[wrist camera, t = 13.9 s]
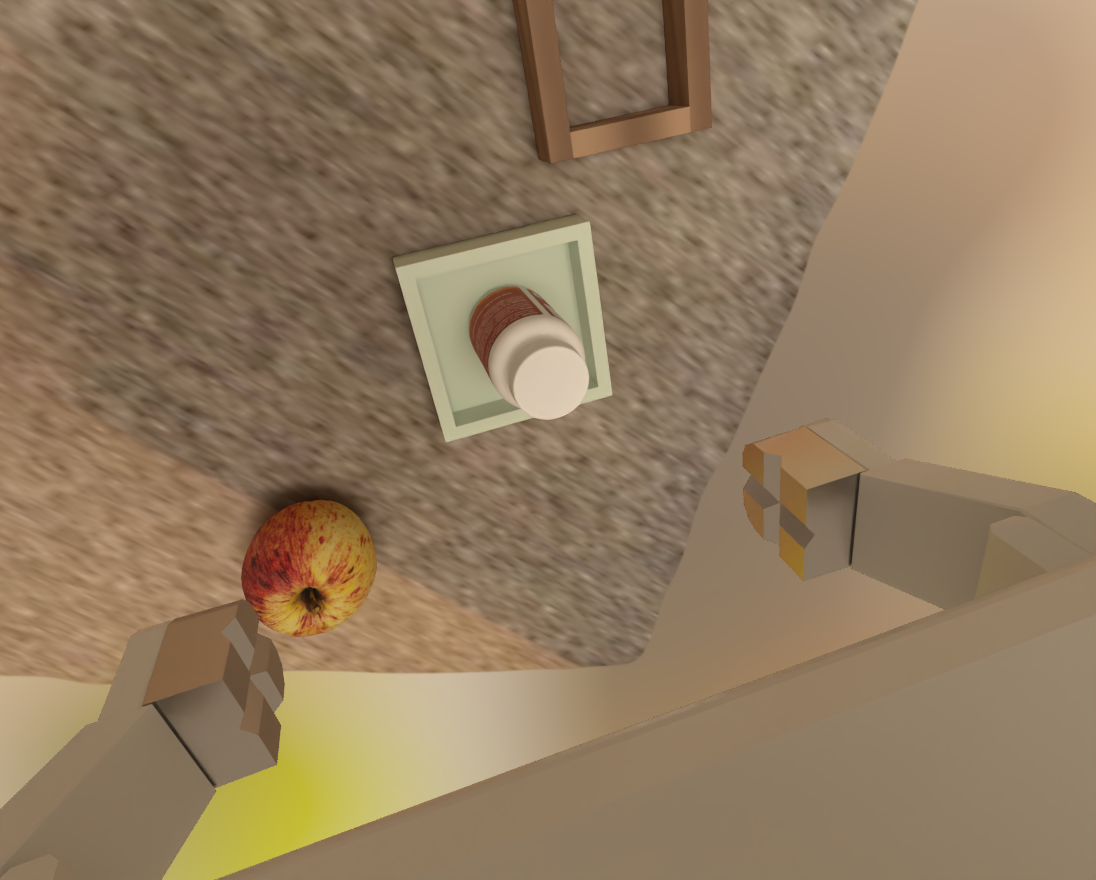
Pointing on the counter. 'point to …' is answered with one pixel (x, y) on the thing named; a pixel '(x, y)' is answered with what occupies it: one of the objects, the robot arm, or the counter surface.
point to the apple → (309, 568)
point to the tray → (471, 273)
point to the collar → (682, 116)
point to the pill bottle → (529, 352)
